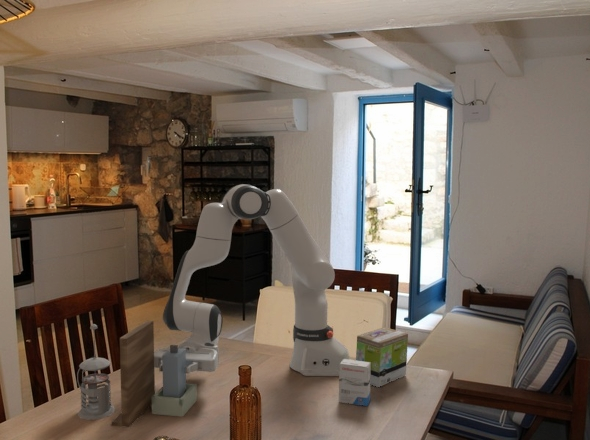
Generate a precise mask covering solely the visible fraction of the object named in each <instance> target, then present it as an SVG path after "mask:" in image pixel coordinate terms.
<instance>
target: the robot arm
mask: <svg viewBox="0 0 590 440" xmlns="http://www.w3.org/2000/svg"><path fill="white" fill-rule="evenodd" d="M257 218H261V219H262V220H263V221H264V222H265V224H266V226H267V228H268V229H269V232H270V233H271V235H272V237H273V239H274V240H275V242H276V244H277V245H278V247H279V249H280V251H282V253H283V255H284V256H285V257H286V259H287V260H288V262H289V263H290V269H291V280H292V288H293V290H292V291H293V295H294V324H293V329H292V339H293V347H292V348H293V350H292V356H291V359H290V363H289V367H290V368H291V369H292V370H294V371H295V372H298V373H300V374H301V375H303V376H304V377H308V376H309V377H339V364H340V363H341V361H342V360H343V359H349V360H353V358H352V359H351V358H350V355H349V350H348V347H346V346H345V345H344V344H343V343H342V342H341V341H340V340H338V339H337V338H336V337H334V327H333V326H330V325H329V324H328V308H329V307H328V299H327V297H326V291H325V290H327V289H328V288H330V287H331V286H332V285H333V283H334V281H335V276H336V274H335V270H334V268H333V265H332V264H331V263H330V261H329V259H328V258H327V255H325V253H324V251H323V250H322V249H321V247H320V245H319V244H318V243H317V241H316V240H315V238H314V237H313V236H312V234H311V233H310V230H309V229H308V227H307V226H306V224H305V221H304V220H303V219H302V217H301V215H300V213H299V211H298V210H297V207H295V205H294V203H293V202H292V201H291V199H290V198H289V197H288V196H287V194H286V193H285V192H284V191H283V190H282V189H279V188H273V189H269V190H267V191H263V190H262V189H260V188H258V187H256V186H254V185H251V184H243V183H242V184H236V185H234V186H232V187H230V188H229V189H228V190H227V191H226V192H225V193H224V194H223V196H222V198H221V199H220V200H219V201H218V202H210V203H208V204H205V205H204V207H203V208H202V209H201V212H200V217H199V220H198V224H197V229H196V235H195V240H194V242H193V245H192V246H191V248H190V249H187V250H186V251H185V252H184V254H182V257H181V259H180V262H179V265H178V268H177V272H176V274H175V278H174V281H173V284H172V288H171V290H170V294H169V296H168V299H167V301H166V304H165V306H164V309H163V313H162V314H163V315H162V321H163V323H164V325H165V326H166V327H167V328H168V330H170V331H178V332H181V331H183V332H188V333H192V334H190V335H189V337H187V338H185V339H184V340H183V342H181V343H180V344H179V345H178V349H186V366H185V367H184V373H186V375H189V374H190V373H193V372H207V373H211V372H215V371H216V370H217V369H218V365H219V360H220V350H219V345H218V344H219V339H220V335H221V332H222V330H223V329H222V327H223V323H224V322H223V314H222V312H221V310H220V308H219V307H218V306H217V305H216V304H213V303H207V302H198V301H194V300H187V299H186V294H187V291H188V287H189V285H190V282H191V281H190V280H191V277H192V275H193V273H194V272H196V271H197V270H200V269H204V268H207V267H211V266H212V267H213V266H215V265H218V264H220V263H222V262H223V261H225V259H226V258H227V257H228V255H229V252H230V249H231V242H232V233H233V228H234V225H235V224H236V222H237V221H238V220H255V219H257ZM169 349H170V348H165V347H164V348H159V349H157V350H154V368H157V369H158V370H159V372H161V373H163V369H162V355H163V354H165V353H166V352H167V351H168V350H169Z"/></svg>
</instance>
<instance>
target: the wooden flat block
mask: <svg viewBox="0 0 590 440" xmlns="http://www.w3.org/2000/svg"><path fill="white" fill-rule="evenodd" d="M154 325H155V324H154V321H153V320H146V321H144V322H143V323H141V324H139V325H138V326H136V327H135V328H133V329H132V330H131V331H128V332H127V333H126V334H124V335H122V336H121V337H119V361H120V362H119V364H120V396H121V397H120V399H121V400H120V403H121V404H120V405H121V407H120V408H121V412H120V413H119V414H118V415H117V416H116V417H115V418H114V419H113V420H112V421H111V426H113V427H121V428H122V427H123V428H130V427H131V426H132V425H133V424H134V423H135V422H136V421H137V420H138V419H139V418H140V417H141V416H142V415H143V414H144V413H145V412H146V411H147V410H148V409H149V408H150V407H152V396H153V395H154V394H155V393H156V390H155V387H156V386H155V383H156V381H155V377H156V376H155V367H154V352H155V338H154V337H155V333H154V332H155V328H154Z"/></svg>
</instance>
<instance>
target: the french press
mask: <svg viewBox="0 0 590 440" xmlns="http://www.w3.org/2000/svg"><path fill="white" fill-rule="evenodd" d="M89 329H90V330H93V331H92V332H95V330H96V329H98V325H97V324H95V323H92V324H91V325H90V327H89ZM95 339H96V337H95V334H93V357H90V358H88V359H85V360H84V361H82V362H81V363H80V364H79V365H78V367H79V369H78V371H77V373H76V376H77V378H76V379H77V380H76V381H77V385H78V387H79V389H80V400H81V401H80V405H81V406H80V407H81V409H80V410H79V411H78V412H77V417H78V418H80V419H81V420H88V421H91V420H93V421H95V420H101V419H103V418H107V417H109V416H110V415H112V414H114V412H115V407H114V406H113V405H112V401H111V399H112V398H111V394H112V393H111V380H110V376H109V375H108V374H106V373H97V371H100V370H102V371H103V370H105V369H107V368H108V367H109V366H110V365H111V361H110V360H108V359H106V358H104V357H96V344H95V343H96V340H95ZM80 370H82V371H81V373H82V374H81V382H82V383H80V382H79V374H80V373H79V372H80ZM84 372H94V373H92V374H87V375H85V376H84ZM105 383H106V384H105ZM87 396H88V397H87Z"/></svg>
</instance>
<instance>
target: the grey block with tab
mask: <svg viewBox="0 0 590 440" xmlns="http://www.w3.org/2000/svg"><path fill="white" fill-rule="evenodd" d="M178 346H179V345H177V344H170V345H169V348H168V349H169V350H168V351H167V352H166V353H165V354H163V355H162V369H163V372H162V387H163V397H173V398H181V397H182V396H183V395H184V394H185V393H186V383H187V374H186V373H184V367H185V366H186V349H178Z"/></svg>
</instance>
